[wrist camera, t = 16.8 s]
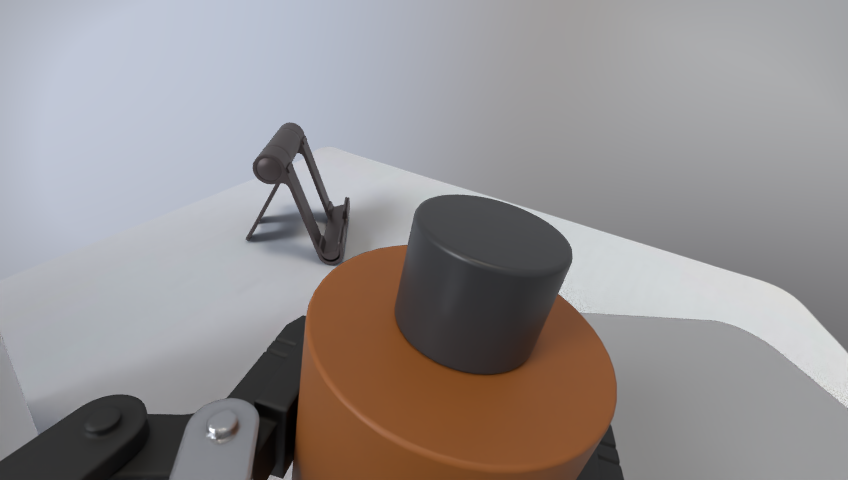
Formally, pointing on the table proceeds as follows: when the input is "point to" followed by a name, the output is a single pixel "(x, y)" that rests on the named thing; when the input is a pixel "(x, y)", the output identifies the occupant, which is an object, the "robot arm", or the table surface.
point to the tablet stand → (279, 169)
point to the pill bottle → (12, 409)
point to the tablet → (716, 405)
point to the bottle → (452, 356)
